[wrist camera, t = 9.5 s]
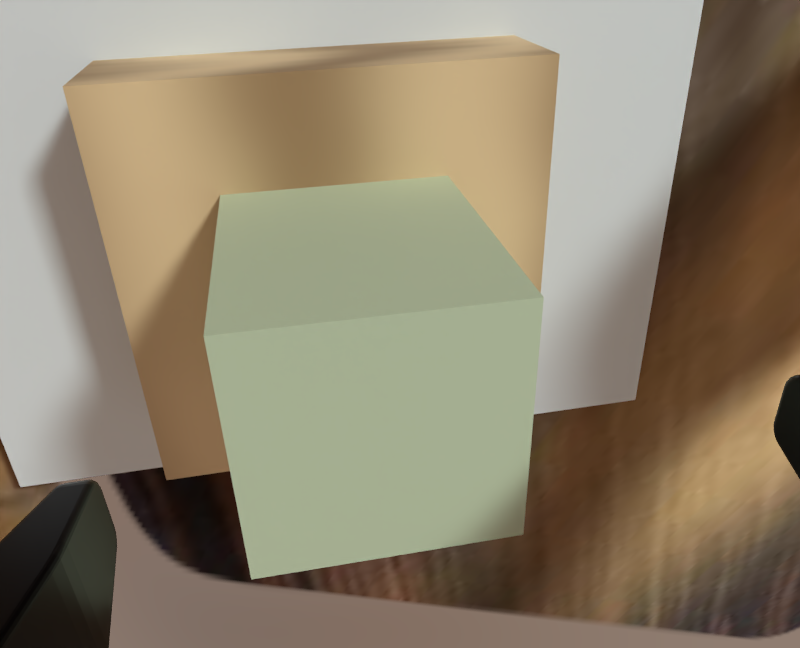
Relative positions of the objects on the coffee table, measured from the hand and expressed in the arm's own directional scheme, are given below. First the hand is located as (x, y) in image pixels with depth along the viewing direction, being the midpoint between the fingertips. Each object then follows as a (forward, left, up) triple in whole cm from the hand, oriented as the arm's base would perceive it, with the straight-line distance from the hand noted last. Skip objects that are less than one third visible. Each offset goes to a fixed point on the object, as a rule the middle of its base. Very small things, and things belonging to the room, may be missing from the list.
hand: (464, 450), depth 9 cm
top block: (+1, +2, -8) cm, 8 cm away
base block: (+1, +2, -11) cm, 11 cm away
